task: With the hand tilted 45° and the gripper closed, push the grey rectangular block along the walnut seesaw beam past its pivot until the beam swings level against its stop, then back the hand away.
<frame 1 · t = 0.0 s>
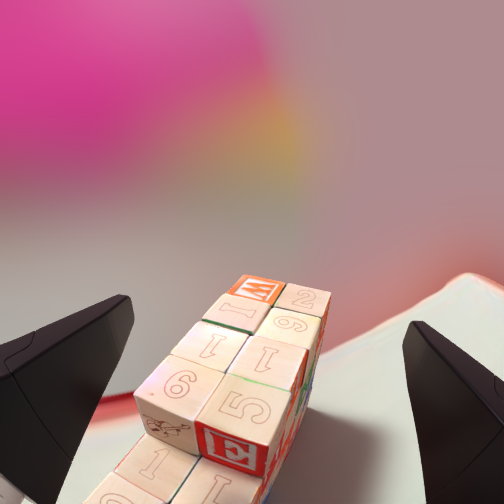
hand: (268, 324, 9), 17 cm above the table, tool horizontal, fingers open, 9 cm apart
stack of blocks: (222, 495, 17), on the table
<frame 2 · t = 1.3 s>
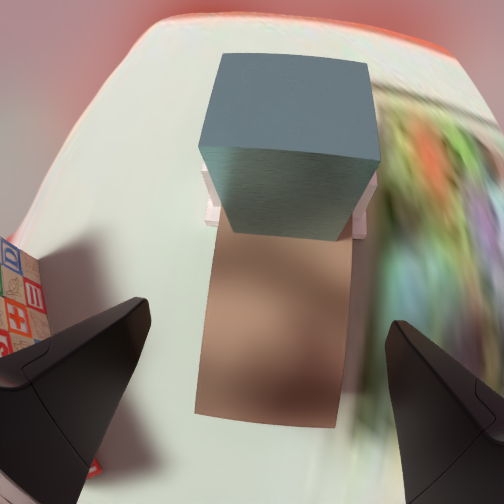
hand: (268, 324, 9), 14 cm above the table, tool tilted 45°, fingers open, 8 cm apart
rider: (287, 197, 19), point 7 cm above the table, tilted 6°, touching beam
stack of blocks: (39, 369, 22), on the table
beam: (285, 225, 21), point 4 cm above the table, hinge at -6.3°, touching rider
pivot stand: (287, 205, 26), on the table
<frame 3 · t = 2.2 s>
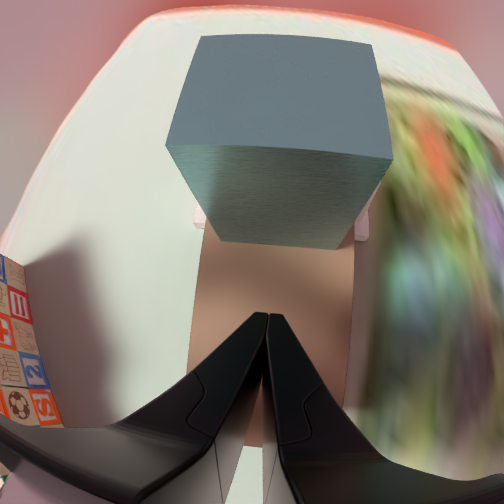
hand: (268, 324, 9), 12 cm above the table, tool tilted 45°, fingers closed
rider: (281, 201, 17), point 7 cm above the table, tilted 6°, touching beam
stack of blocks: (26, 382, 20), on the table
beam: (280, 227, 19), point 4 cm above the table, hinge at -6.3°, touching rider
pivot stand: (283, 204, 24), on the table
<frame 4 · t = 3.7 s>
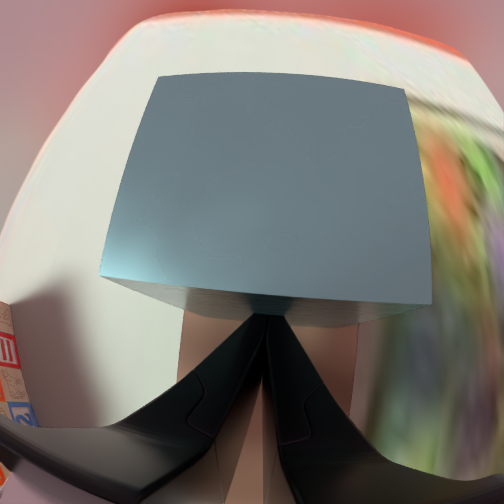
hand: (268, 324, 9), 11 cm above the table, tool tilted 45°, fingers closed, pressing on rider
rider: (275, 268, 14), point 7 cm above the table, tilted 5°, touching beam, gripper
stack of blocks: (18, 425, 18), on the table
beam: (275, 287, 17), point 4 cm above the table, hinge at -6.2°, touching rider
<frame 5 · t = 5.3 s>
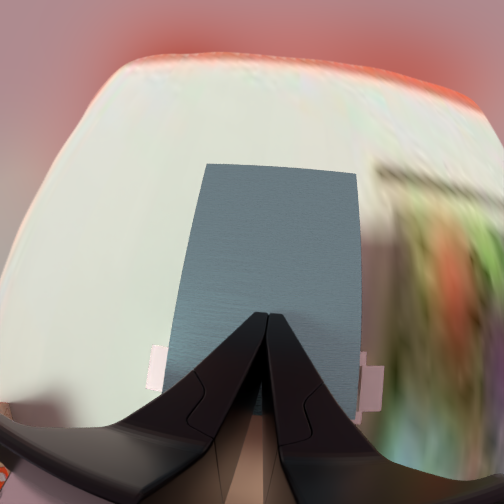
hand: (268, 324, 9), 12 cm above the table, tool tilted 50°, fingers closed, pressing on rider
rider: (259, 409, 11), point 10 cm above the table, tilted 91°, touching beam, gripper
beam: (257, 452, 14), point 4 cm above the table, hinge at 0.5°, touching rider
pivot stand: (266, 383, 20), on the table
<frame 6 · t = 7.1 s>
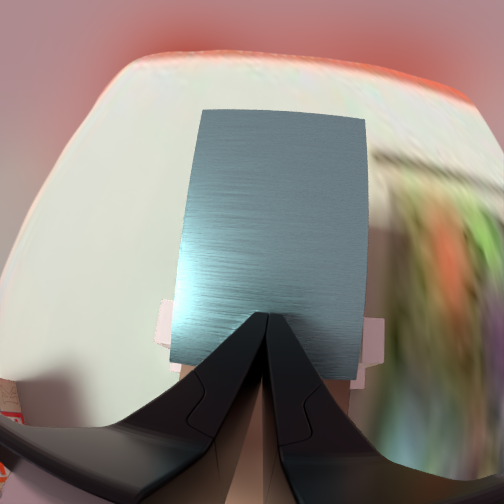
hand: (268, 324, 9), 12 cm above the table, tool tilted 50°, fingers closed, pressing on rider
rider: (265, 360, 12), point 9 cm above the table, tilted 74°, touching beam, gripper
stack of blocks: (29, 491, 16), on the table
beam: (262, 409, 15), point 4 cm above the table, hinge at 0.1°, touching rider
pivot stand: (270, 349, 21), on the table
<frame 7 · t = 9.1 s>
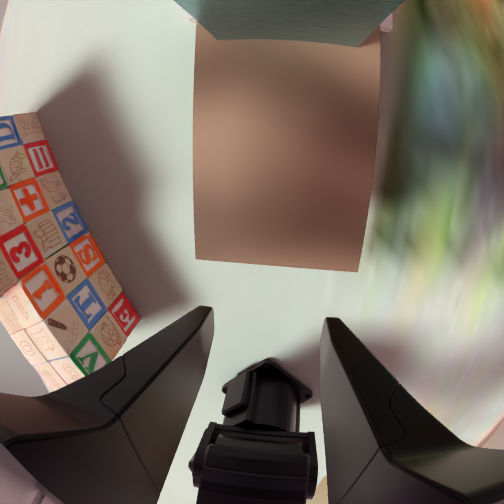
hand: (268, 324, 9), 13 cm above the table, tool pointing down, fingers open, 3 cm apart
stack of blocks: (63, 227, 24), on the table
beam: (289, 18, 12), point 4 cm above the table, hinge at 0.0°, touching rider
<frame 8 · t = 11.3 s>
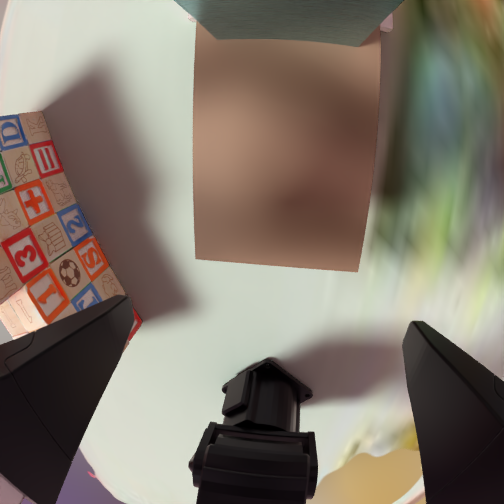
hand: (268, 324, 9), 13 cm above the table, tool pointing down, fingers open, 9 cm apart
stack of blocks: (66, 229, 24), on the table
beam: (289, 18, 12), point 4 cm above the table, hinge at 0.0°, touching rider
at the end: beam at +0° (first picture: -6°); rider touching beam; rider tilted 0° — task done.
